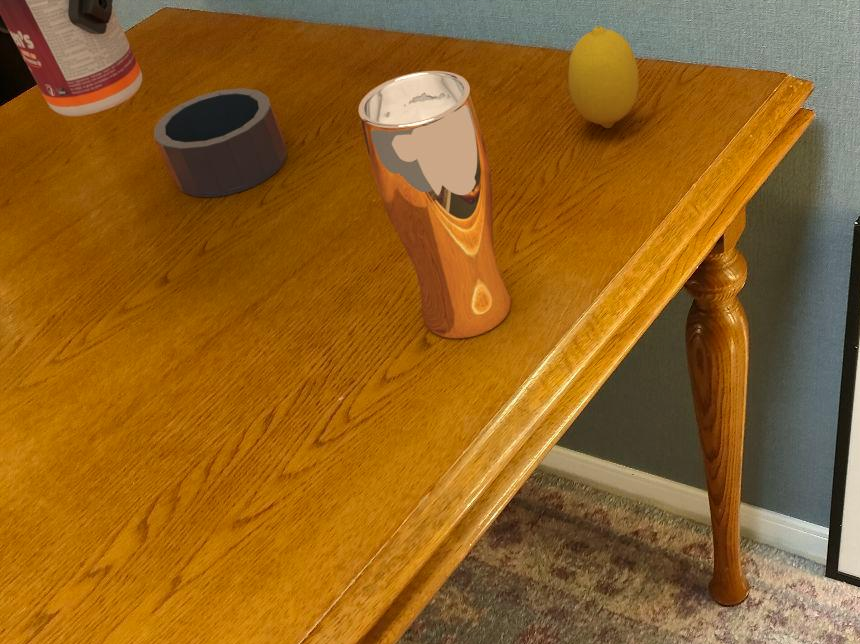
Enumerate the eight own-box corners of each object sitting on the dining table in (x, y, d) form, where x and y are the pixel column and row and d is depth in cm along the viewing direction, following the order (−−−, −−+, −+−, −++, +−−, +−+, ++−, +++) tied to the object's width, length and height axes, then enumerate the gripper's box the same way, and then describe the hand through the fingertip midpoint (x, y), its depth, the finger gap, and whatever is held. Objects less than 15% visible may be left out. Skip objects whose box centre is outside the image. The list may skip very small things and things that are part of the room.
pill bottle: (40, 100, 65) (-66, -96, 56) (127, 63, 67) (37, -132, 58) (68, 130, 61) (-40, -74, 53) (160, 90, 63) (69, -114, 54)
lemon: (567, 144, 81) (553, 44, 75) (585, 110, 85) (573, 12, 79) (633, 145, 80) (624, 43, 74) (649, 110, 83) (642, 10, 77)
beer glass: (493, 349, 65) (442, 131, 54) (400, 337, 68) (332, 125, 56) (532, 286, 69) (492, 70, 58) (443, 276, 72) (388, 67, 60)
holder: (153, 188, 87) (129, 139, 84) (227, 131, 92) (208, 83, 89) (236, 205, 83) (215, 154, 80) (310, 144, 88) (293, 94, 85)
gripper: (-89, -312, 56) (-105, 2, 58) (113, -344, 51) (88, 1, 53) (23, -226, 63) (5, 52, 65) (210, -247, 58) (184, 54, 60)
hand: (42, 27), depth 59 cm, fingers closed on pill bottle, 6 cm apart
